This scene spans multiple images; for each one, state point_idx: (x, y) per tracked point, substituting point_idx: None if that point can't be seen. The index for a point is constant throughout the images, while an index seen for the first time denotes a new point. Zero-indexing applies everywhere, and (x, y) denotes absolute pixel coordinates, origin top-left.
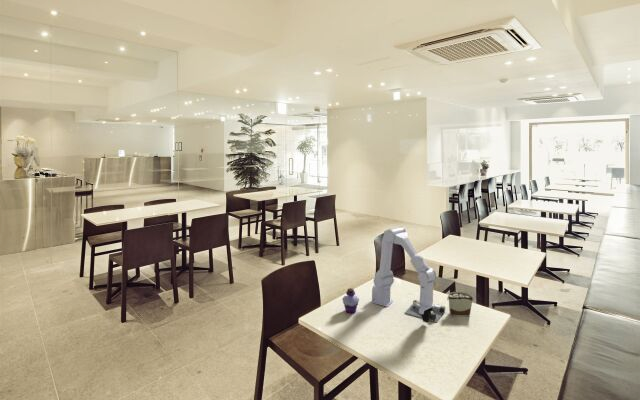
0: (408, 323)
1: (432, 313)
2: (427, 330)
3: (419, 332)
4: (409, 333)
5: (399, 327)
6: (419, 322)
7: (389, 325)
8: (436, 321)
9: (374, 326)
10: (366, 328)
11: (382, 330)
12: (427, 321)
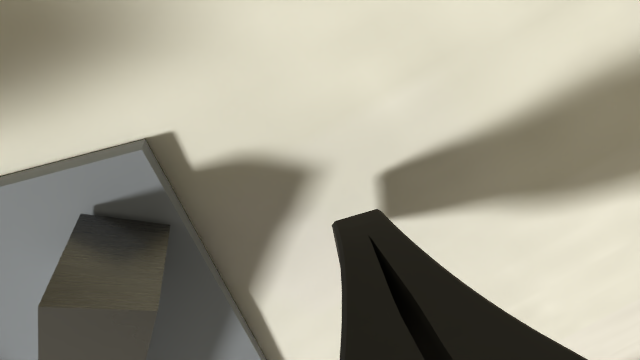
0: None
1: (112, 340)
2: (487, 104)
3: (575, 144)
4: (623, 194)
5: (541, 292)
6: None
7: None
8: (145, 159)
9: (582, 354)
10: (617, 354)
11: (620, 312)
12: (393, 224)
